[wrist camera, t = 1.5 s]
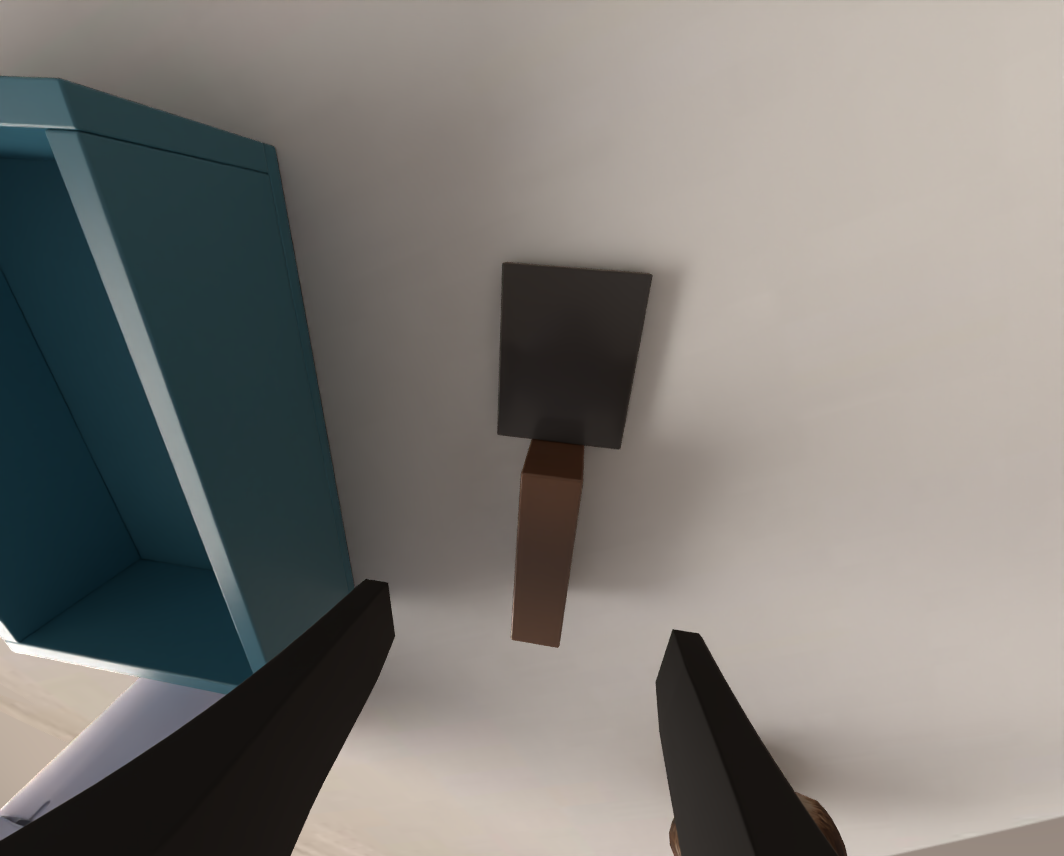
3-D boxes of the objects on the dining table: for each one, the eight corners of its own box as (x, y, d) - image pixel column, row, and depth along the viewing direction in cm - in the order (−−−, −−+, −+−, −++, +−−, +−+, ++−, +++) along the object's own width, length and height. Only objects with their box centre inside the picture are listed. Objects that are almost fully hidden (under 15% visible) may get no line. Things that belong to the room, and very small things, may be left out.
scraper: (591, 594, 18) (591, 654, 15) (495, 578, 19) (478, 635, 16) (650, 273, 12) (667, 280, 9) (505, 261, 13) (482, 266, 10)
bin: (356, 596, 21) (282, 706, 16) (143, 560, 22) (11, 652, 17) (275, 145, 12) (58, 76, 7) (-65, 128, 13) (-451, 58, 8)
